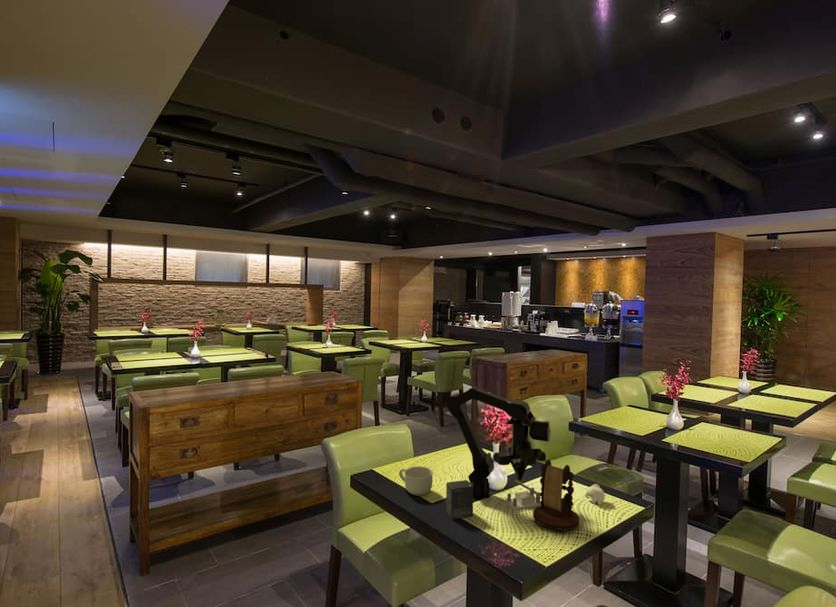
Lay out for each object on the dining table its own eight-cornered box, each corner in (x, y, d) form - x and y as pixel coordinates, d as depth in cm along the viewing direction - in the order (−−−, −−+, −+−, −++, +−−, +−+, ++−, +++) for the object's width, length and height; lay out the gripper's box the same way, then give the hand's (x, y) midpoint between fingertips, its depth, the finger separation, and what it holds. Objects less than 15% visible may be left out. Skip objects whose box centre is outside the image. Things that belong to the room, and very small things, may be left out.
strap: (517, 484, 160) (519, 481, 160) (513, 481, 163) (515, 478, 163) (537, 495, 162) (538, 493, 163) (533, 492, 165) (534, 490, 165)
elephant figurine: (586, 496, 169) (586, 480, 169) (608, 501, 165) (609, 485, 165) (582, 503, 163) (582, 487, 163) (606, 508, 159) (606, 492, 159)
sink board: (514, 509, 157) (514, 497, 157) (504, 501, 164) (504, 489, 164) (543, 505, 161) (544, 493, 161) (533, 497, 168) (533, 486, 168)
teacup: (438, 492, 171) (438, 471, 171) (419, 501, 163) (419, 479, 163) (411, 481, 180) (411, 462, 180) (392, 490, 172) (392, 469, 172)
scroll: (524, 522, 148) (525, 462, 148) (545, 508, 159) (546, 451, 159) (567, 539, 138) (568, 474, 138) (586, 522, 149) (587, 462, 149)
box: (466, 509, 157) (466, 479, 157) (473, 517, 152) (473, 485, 152) (445, 512, 155) (446, 481, 155) (451, 520, 149) (452, 488, 149)
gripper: (508, 446, 151) (507, 492, 151) (555, 442, 157) (554, 486, 157) (492, 436, 162) (492, 479, 162) (538, 432, 167) (537, 474, 168)
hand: (519, 480), depth 162 cm, fingers closed
